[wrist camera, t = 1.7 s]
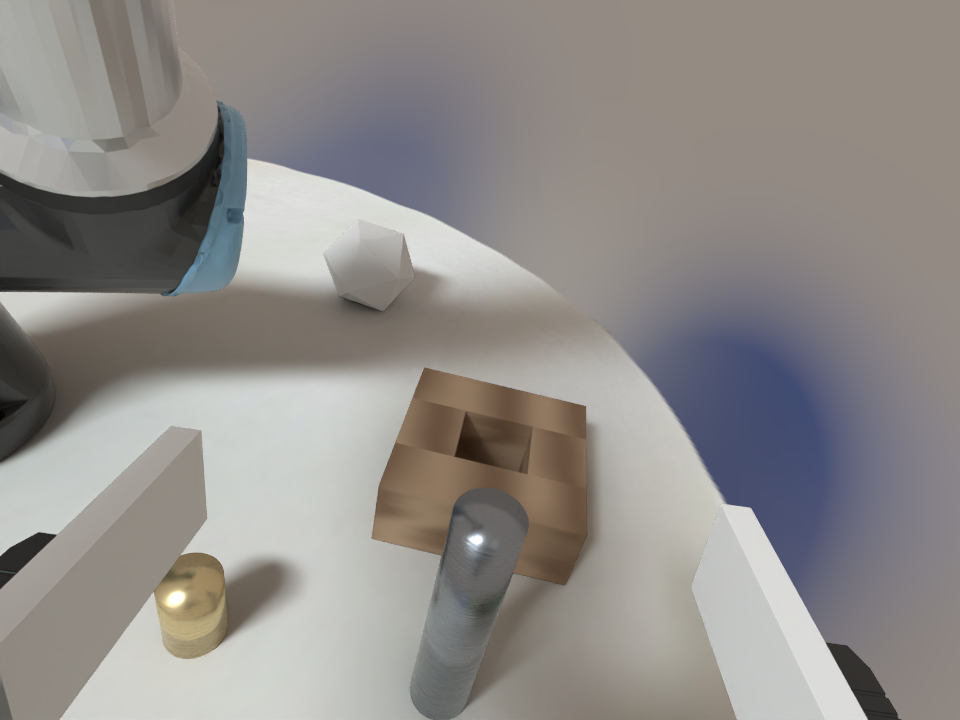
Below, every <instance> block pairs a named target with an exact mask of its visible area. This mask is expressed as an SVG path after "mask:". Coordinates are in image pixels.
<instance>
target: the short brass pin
mask: <svg viewBox="0 0 960 720" xmlns="http://www.w3.org/2000/svg"><path fill="white" fill-rule="evenodd" d="M154 595H155V600H156V606H157V611H158V617H159V622H160V628H161V633H162V639H163V644H164V646H165V648H166V650H167V651H168V652H169V653H170V654H172V655H174V656H176V657H178V658H183V659H192V658H197V657H201V656H203V655H205V654H207V653H209V652H211V651H212V650H213V649H215V648H216V647H217V646H218V645H219V644H220V643H221V641H222V640H223V638H224V637H225V634H226V632H227V626H228V622H227V609H226V595H225V581H224V570H223V567H222V565H221V563H220V562H219V561H218V560H217V559H216V558H214V557H213V556H211V555H208V554H204V553H189V554H184V555H181V556H179V558H178V559H177V560H176V562H175V563H174V564H173V566H172V567H171V568H170V570H169V571H168V573H167V574H166V575H165V577H164V578H163V579H162V581H161V582H160V583H159V585H158V586H157V588H156V589H155V590H154Z"/></svg>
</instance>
